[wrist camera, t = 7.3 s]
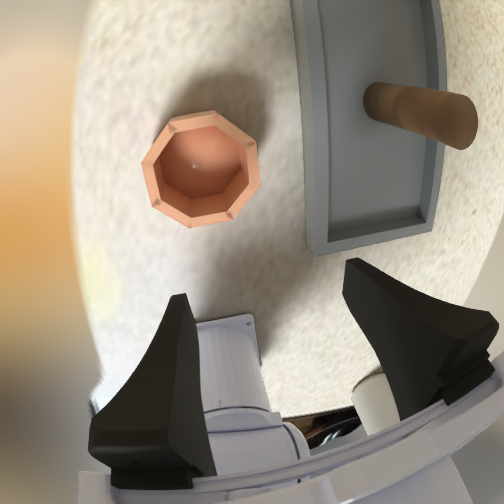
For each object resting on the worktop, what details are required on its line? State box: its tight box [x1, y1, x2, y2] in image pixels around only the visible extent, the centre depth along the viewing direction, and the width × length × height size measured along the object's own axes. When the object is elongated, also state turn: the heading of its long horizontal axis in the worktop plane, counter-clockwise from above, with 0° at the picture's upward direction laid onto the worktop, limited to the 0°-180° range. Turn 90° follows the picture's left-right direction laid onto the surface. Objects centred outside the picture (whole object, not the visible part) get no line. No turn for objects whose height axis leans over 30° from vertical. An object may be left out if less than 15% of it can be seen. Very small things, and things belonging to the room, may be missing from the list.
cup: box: [141, 110, 261, 228], centre depth 17 cm, size 6×6×4 cm
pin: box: [363, 83, 478, 150], centre depth 14 cm, size 3×3×8 cm
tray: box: [290, 0, 447, 257], centre depth 17 cm, size 22×12×2 cm, turn 6°
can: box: [351, 373, 400, 448], centre depth 35 cm, size 8×8×12 cm
